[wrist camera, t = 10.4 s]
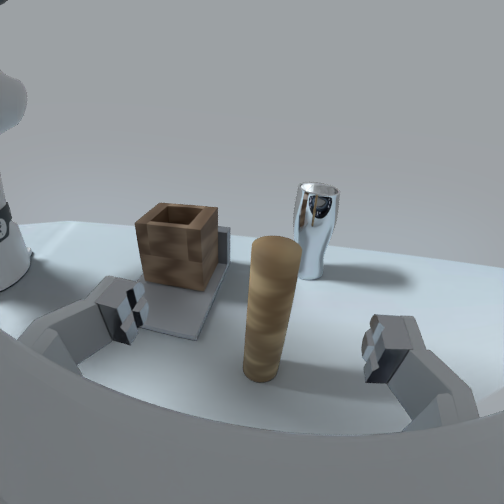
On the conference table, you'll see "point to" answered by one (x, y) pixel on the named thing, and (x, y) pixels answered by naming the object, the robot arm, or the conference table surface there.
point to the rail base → (185, 299)
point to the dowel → (269, 304)
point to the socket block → (179, 245)
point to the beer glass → (314, 225)
